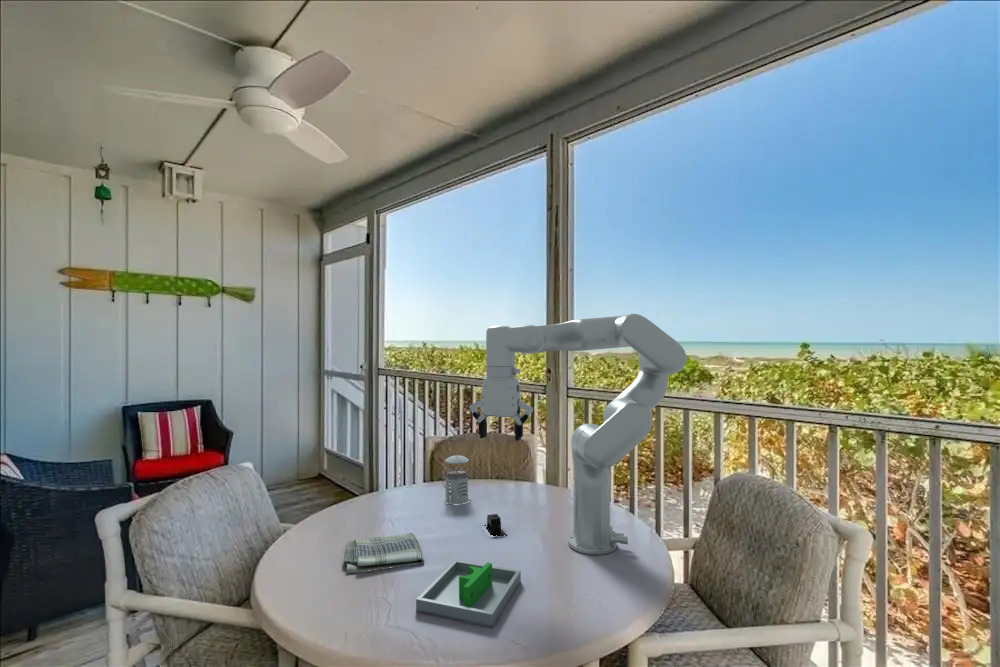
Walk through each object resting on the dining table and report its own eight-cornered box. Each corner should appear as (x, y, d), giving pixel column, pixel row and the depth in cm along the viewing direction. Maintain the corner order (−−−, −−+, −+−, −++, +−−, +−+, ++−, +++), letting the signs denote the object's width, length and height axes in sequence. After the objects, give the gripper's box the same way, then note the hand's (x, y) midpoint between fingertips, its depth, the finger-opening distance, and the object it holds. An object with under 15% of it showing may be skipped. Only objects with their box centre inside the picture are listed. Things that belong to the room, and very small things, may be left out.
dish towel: (415, 538, 128) (415, 526, 129) (424, 566, 111) (425, 553, 111) (344, 546, 123) (344, 534, 123) (343, 578, 106) (343, 564, 106)
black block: (512, 539, 127) (512, 523, 127) (486, 543, 125) (487, 526, 125) (499, 523, 139) (499, 508, 139) (475, 526, 137) (475, 510, 137)
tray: (520, 582, 103) (520, 570, 103) (492, 628, 86) (492, 614, 86) (455, 570, 108) (455, 559, 108) (416, 612, 91) (416, 599, 91)
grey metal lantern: (476, 499, 160) (476, 426, 161) (456, 509, 150) (456, 431, 151) (454, 494, 165) (454, 423, 166) (432, 503, 155) (433, 428, 156)
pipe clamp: (476, 581, 103) (476, 560, 103) (492, 584, 101) (492, 563, 101) (451, 606, 92) (451, 582, 92) (468, 610, 91) (468, 586, 91)
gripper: (536, 372, 122) (536, 438, 122) (475, 371, 128) (475, 434, 128) (528, 374, 115) (528, 443, 115) (464, 373, 121) (464, 439, 121)
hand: (500, 438), depth 121 cm, fingers open, 9 cm apart
